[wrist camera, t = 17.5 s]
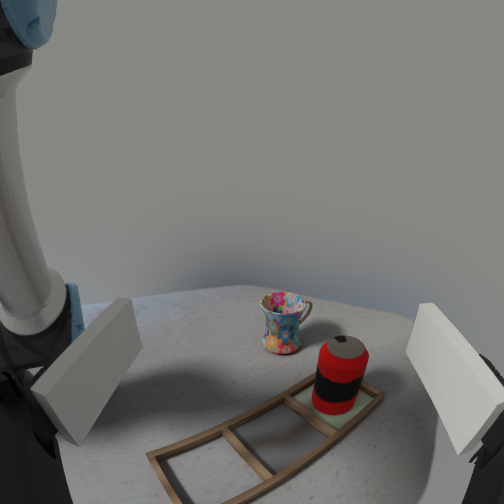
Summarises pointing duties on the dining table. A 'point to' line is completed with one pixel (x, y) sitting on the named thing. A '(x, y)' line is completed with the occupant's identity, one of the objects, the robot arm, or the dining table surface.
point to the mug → (283, 321)
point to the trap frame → (277, 436)
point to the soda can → (339, 374)
